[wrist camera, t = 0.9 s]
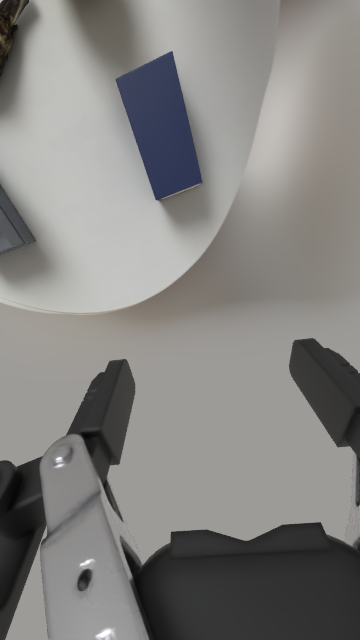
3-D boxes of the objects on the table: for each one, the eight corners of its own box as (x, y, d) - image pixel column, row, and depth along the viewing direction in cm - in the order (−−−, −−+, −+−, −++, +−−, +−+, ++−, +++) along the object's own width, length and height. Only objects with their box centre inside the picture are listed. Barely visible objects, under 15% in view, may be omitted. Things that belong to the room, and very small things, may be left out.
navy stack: (158, 201, 29) (156, 200, 26) (124, 98, 24) (115, 78, 20) (199, 185, 29) (202, 182, 25) (173, 75, 23) (172, 50, 19)
